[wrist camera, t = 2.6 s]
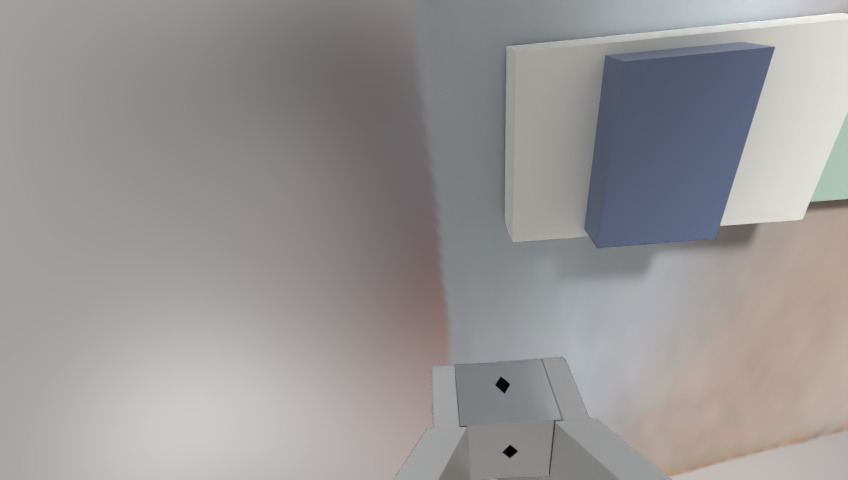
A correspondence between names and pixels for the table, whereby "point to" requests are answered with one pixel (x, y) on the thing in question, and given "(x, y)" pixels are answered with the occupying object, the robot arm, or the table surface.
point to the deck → (584, 58)
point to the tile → (671, 141)
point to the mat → (835, 170)
